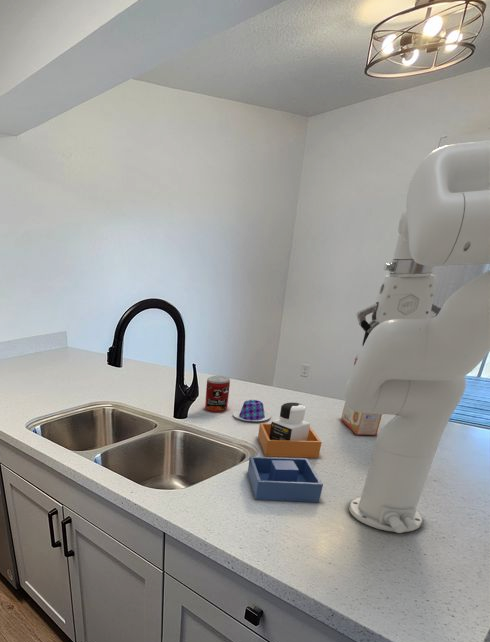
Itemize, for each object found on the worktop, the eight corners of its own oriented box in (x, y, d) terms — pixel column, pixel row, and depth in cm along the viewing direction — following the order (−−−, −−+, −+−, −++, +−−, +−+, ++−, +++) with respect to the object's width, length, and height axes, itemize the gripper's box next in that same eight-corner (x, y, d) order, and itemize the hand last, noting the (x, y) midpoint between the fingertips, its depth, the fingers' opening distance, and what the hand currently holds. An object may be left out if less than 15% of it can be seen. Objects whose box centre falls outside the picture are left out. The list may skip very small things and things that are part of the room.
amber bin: (318, 457, 116) (321, 442, 114) (265, 456, 119) (267, 440, 116) (305, 438, 128) (308, 424, 125) (257, 437, 130) (259, 423, 128)
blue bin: (319, 502, 96) (323, 484, 94) (255, 499, 99) (258, 481, 97) (304, 475, 108) (307, 458, 106) (247, 473, 110) (249, 456, 108)
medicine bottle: (267, 443, 124) (273, 403, 119) (286, 438, 127) (292, 399, 121) (287, 452, 119) (295, 410, 113) (306, 446, 121) (314, 405, 116)
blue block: (295, 489, 101) (299, 469, 99) (272, 488, 102) (275, 469, 99) (290, 479, 105) (293, 460, 103) (268, 478, 106) (271, 460, 104)
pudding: (259, 409, 152) (261, 395, 149) (278, 421, 141) (280, 405, 139) (226, 413, 150) (228, 398, 148) (243, 425, 140) (245, 409, 138)
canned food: (204, 412, 153) (206, 381, 148) (205, 405, 159) (207, 375, 154) (227, 413, 151) (230, 382, 146) (227, 405, 157) (230, 375, 152)
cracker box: (377, 436, 126) (397, 364, 117) (355, 435, 128) (372, 364, 118) (360, 419, 139) (377, 353, 129) (340, 419, 140) (355, 353, 130)
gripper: (373, 271, 91) (354, 353, 99) (468, 266, 88) (440, 352, 96) (360, 269, 98) (344, 347, 106) (448, 265, 94) (424, 345, 102)
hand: (390, 349), depth 101 cm, fingers open, 9 cm apart
